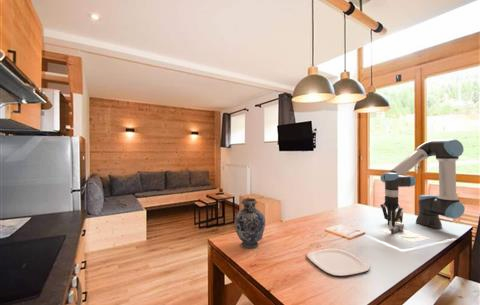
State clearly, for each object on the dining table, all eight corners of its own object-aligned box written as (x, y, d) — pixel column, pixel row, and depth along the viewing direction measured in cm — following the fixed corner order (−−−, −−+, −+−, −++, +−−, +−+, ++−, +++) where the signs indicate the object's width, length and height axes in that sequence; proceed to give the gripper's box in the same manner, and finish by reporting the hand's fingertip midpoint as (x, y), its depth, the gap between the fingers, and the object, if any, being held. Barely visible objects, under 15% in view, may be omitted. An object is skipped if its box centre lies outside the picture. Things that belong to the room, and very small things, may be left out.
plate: (377, 272, 107) (377, 268, 107) (332, 281, 99) (332, 277, 99) (339, 249, 131) (339, 246, 131) (301, 255, 124) (301, 252, 124)
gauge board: (396, 229, 162) (396, 226, 162) (431, 240, 141) (431, 238, 141) (377, 232, 156) (377, 230, 156) (411, 245, 135) (411, 242, 135)
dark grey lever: (397, 228, 158) (397, 221, 158) (404, 230, 154) (404, 223, 154) (388, 232, 151) (388, 224, 151) (396, 235, 147) (396, 226, 147)
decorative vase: (268, 252, 127) (267, 203, 126) (236, 254, 125) (234, 204, 125) (262, 237, 148) (261, 195, 148) (234, 239, 147) (233, 196, 146)
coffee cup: (401, 229, 162) (401, 212, 162) (386, 225, 169) (386, 210, 169) (404, 226, 168) (404, 210, 168) (390, 223, 175) (390, 207, 175)
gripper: (378, 194, 153) (378, 228, 154) (400, 198, 142) (399, 235, 143) (383, 193, 157) (383, 226, 158) (405, 196, 147) (404, 232, 147)
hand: (391, 230), depth 150 cm, fingers closed
